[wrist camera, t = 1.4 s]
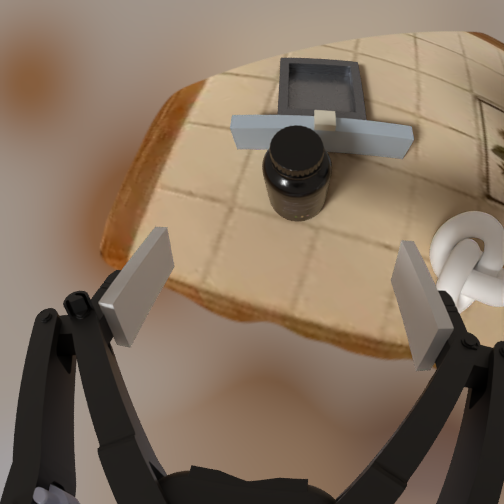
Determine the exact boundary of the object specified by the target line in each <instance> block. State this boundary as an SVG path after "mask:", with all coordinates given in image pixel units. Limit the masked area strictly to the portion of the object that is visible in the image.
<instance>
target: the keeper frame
mask: <svg viewBox="0 0 504 504" xmlns="http://www.w3.org/2000/svg"><path fill="white" fill-rule="evenodd" d="M314 110H325V111H335V116H336V118H347V119H358V120H366V113H365V105H364V98H363V91H362V84H361V78H360V72H359V66H358V62H352V61H341V60H328V59H311V58H281V61H280V81H279V99H278V115H298V116H314Z"/></svg>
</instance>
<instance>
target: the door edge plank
mask: <svg viewBox="0 0 504 504" xmlns="http://www.w3.org/2000/svg"><path fill="white" fill-rule="evenodd" d="M294 125H297V126H299V125H301V126H306V127H307V128H311V129H312V130H313V131H315V132H316V133H317V134H318V135H319V137H320V138H321V141H322V142H323V146H324V149H325V150H326V151H327V152H337V153H350V154H362V155H372V156H381V157H390V158H399V159H403V157H404V156H405V154H406V152H407V151H408V149H409V147H410V146H411V144H412V142H413V141H414V137H413V131H412V126H406V125H399V124H392V123H385V122H376V121H368V120H358V119H347V118H336V116H335V111H325V110H314V116H298V115H232V119H231V126H230V130H231V133H232V135H233V138H234V141H235V144H236V147H237V149H269V148H270V143H271V139H272V138H273V137H274V135H275V134H276V133H277V132H278V131H280V130H281V129H283V128H285V127H289V126H294Z"/></svg>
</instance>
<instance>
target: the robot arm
mask: <svg viewBox="0 0 504 504" xmlns="http://www.w3.org/2000/svg"><path fill="white" fill-rule="evenodd" d="M173 268H174V262H173V256H172V251H171V246H170V240H169V235H168V229H167V227H155V228H154V229H153V230H152V232H151V233H150V234H149V235H148V237H147V238H146V239H145V240H144V242H143V243H142V244H141V246H140V247H139V248H138V249H137V251H136V252H135V253H134V255H133V256H132V257H131V258H130V260H129V261H128V262H127V264H126V265H125V266H124V268H123V269H122V270H116V271H114V272H113V273H112V274H110V275H109V276H108V277H107V279H106V280H105V281H104V283H103V284H102V285H101V286H100V288H99V289H98V291H97V292H96V293H95V295H94V296H93V297H92V299H91V300H90V298H89V295H88V293H87V292H85V291H77V292H73V293H71V294H70V295H68V296H67V297H66V299H65V300H64V303H63V305H64V307H65V309H66V311H67V313H68V315H62V316H59V315H58V313H57V311H56V310H55V309H53V308H48V309H45V310H43V311H41V312H40V313H39V314H38V315H37V317H36V319H35V322H34V326H33V330H32V334H31V338H30V342H29V346H28V351H27V355H26V359H25V365H24V370H23V375H22V380H21V386H20V393H19V399H18V407H17V414H16V423H15V433H14V446H13V463H12V466H11V469H10V472H9V475H8V478H7V481H6V484H5V487H4V491H3V494H2V498H1V501H0V504H80V503H79V501H78V500H77V499H76V498H75V493H76V472H75V454H74V391H75V373H76V360H77V362H78V367H79V371H80V376H81V381H82V385H83V389H84V393H85V397H86V401H87V404H88V408H89V412H90V415H91V419H92V422H93V425H94V429H95V432H96V435H97V438H98V441H99V444H100V447H99V448H98V455H99V458H100V461H101V464H102V467H103V470H104V472H105V475H106V477H107V480H108V482H109V485H110V487H111V490H112V492H113V495H114V497H115V499H116V501H117V504H394V503H395V502H396V501H397V499H398V498H399V497H400V495H401V494H402V493H403V491H404V490H405V488H406V486H407V482H408V480H409V479H410V477H411V476H412V474H413V473H414V471H415V470H416V469H417V467H418V466H419V464H420V463H421V461H422V460H423V458H424V457H425V455H426V454H427V452H428V451H429V449H430V447H431V446H432V444H433V443H434V441H435V439H436V438H437V436H438V434H439V433H440V431H441V429H442V428H443V426H444V424H445V422H446V421H447V419H448V417H449V415H450V413H451V411H452V410H453V408H454V406H455V404H456V402H457V400H458V398H459V396H460V394H461V392H462V390H463V388H464V387H468V394H467V399H466V404H465V409H464V414H463V419H462V423H461V427H460V432H459V435H458V439H457V443H456V447H455V450H454V454H453V457H452V460H451V464H450V467H449V470H448V473H447V476H446V479H445V482H444V485H443V487H442V490H441V493H440V496H439V498H438V501H437V503H436V504H498V502H499V498H500V494H501V490H502V486H503V482H504V341H500V342H497V343H496V344H495V346H494V347H493V348H491V347H487V346H483V345H480V342H479V340H478V339H477V337H475V336H474V335H473V334H471V333H468V332H467V330H466V328H465V325H464V323H463V321H462V318H461V316H460V314H459V312H458V309H457V307H456V306H455V303H454V301H453V299H452V297H451V296H450V295H449V294H448V293H447V292H446V291H443V290H437V287H436V285H435V283H434V281H433V279H432V277H431V275H430V273H429V271H428V268H427V266H426V264H425V262H424V260H423V258H422V256H421V254H420V253H419V251H418V249H417V247H416V245H415V243H414V241H404V240H401V244H400V248H399V252H398V256H397V260H396V263H395V267H394V271H393V274H392V278H391V282H392V285H393V289H394V292H395V295H396V298H397V302H398V305H399V308H400V312H401V315H402V319H403V322H404V326H405V330H406V333H407V337H408V341H409V345H410V349H411V353H412V357H413V361H414V365H415V370H416V371H423V370H431V368H432V366H433V365H434V363H436V367H437V370H436V372H435V373H434V375H433V376H432V378H431V380H430V381H429V383H428V385H427V386H426V388H425V390H424V391H423V393H422V394H421V396H420V397H419V399H418V400H417V402H416V403H415V405H414V406H413V408H412V409H411V411H410V412H409V414H408V415H407V416H406V418H405V419H404V421H403V422H402V423H401V425H400V426H399V427H398V429H397V430H396V431H395V433H394V434H393V435H392V437H391V438H390V439H389V440H388V442H387V443H386V444H385V446H384V447H383V448H382V449H381V450H380V452H379V453H378V454H377V455H376V457H375V458H374V459H373V460H372V461H371V462H370V464H369V465H368V466H367V467H366V468H365V469H364V470H363V472H362V473H361V474H360V475H359V476H358V477H357V478H356V479H355V481H354V482H352V484H351V485H350V486H349V487H348V488H347V489H346V490H345V491H344V492H343V493H342V494H341V495H340V496H339V497H338V498H337V499H336V500H335V499H334V498H333V497H332V496H331V495H329V494H328V493H326V492H325V491H323V490H321V489H319V488H317V487H314V486H311V485H308V479H290V478H274V479H267V480H259V481H245V480H242V479H239V478H237V477H234V476H232V475H229V474H226V473H224V472H221V471H219V470H213V469H207V468H203V467H197V466H191V469H190V471H181V472H176V473H173V474H170V475H167V474H166V472H165V471H164V469H163V467H162V466H161V464H160V463H159V461H158V459H157V457H156V455H155V453H154V451H153V449H152V447H151V445H150V443H149V441H148V438H147V436H146V434H145V432H144V430H143V428H142V425H141V423H140V420H139V418H138V416H137V413H136V411H135V409H134V406H133V404H132V401H131V399H130V396H129V394H128V391H127V388H126V386H125V383H124V380H123V378H122V375H121V372H120V369H119V367H118V364H117V361H116V358H115V355H114V352H113V349H112V346H111V344H110V341H111V340H112V338H113V337H114V339H115V341H116V343H117V345H120V346H125V347H131V345H132V343H133V341H134V340H135V338H136V336H137V334H138V332H139V330H140V328H141V326H142V324H143V323H144V321H145V319H146V317H147V315H148V313H149V311H150V310H151V308H152V306H153V304H154V302H155V300H156V299H157V297H158V295H159V293H160V291H161V290H162V288H163V286H164V284H165V282H166V281H167V279H168V277H169V275H170V274H171V272H172V270H173Z"/></svg>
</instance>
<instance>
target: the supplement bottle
mask: <svg viewBox="0 0 504 504" xmlns="http://www.w3.org/2000/svg"><path fill="white" fill-rule="evenodd" d="M262 169H263V176H264V180H265V184H266V188H267V192H268V196H269V200H270V203H271V205H272V207H273V209H274V210H275V211H276V212H277V213H278V214H279V215H280V216H281V217H283V218H285V219H287V220H291V221H305V220H308V219H310V218H312V217H314V216H315V215H317V214H318V213H319V212H320V210H321V209H322V207H323V205H324V202H325V199H326V195H327V191H328V186H329V182H330V178H331V172H332V164H331V160H330V157H329V155H328V153H327V151H326V150H325V149H324V146H323V142H322V141H321V138H320V137H319V135H318V134H317V133H316V132H315V131H313V130H312V129H311V128H307V127H306V126H301V125H299V126H297V125H294V126H289V127H285V128H283V129H281V130H280V131H278V132H277V133H276V134H275V135H274V137H273V138H272V139H271V143H270V148H269V149H268V151H267V152H266V154H265V156H264V159H263V164H262Z"/></svg>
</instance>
